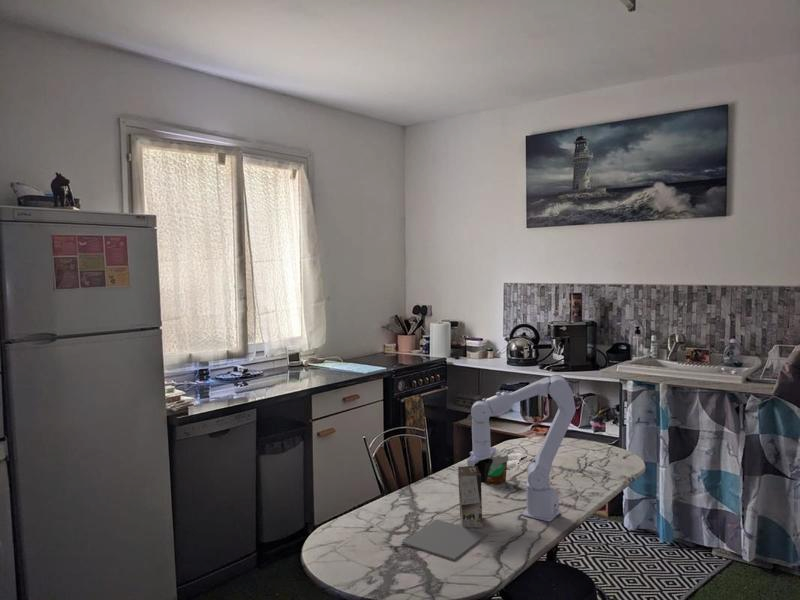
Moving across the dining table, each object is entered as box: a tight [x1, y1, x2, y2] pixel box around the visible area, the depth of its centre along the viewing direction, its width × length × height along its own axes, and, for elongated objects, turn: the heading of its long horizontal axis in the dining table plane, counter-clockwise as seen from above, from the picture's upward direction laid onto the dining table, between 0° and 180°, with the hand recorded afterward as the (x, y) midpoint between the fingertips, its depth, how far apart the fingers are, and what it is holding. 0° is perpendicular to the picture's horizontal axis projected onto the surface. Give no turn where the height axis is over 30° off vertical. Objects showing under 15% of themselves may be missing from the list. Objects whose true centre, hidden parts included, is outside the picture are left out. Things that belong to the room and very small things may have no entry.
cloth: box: [502, 452, 527, 470], centre depth 236 cm, size 26×14×2 cm, turn 135°
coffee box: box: [457, 465, 483, 529], centre depth 182 cm, size 9×6×16 cm
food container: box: [486, 454, 509, 486], centre depth 214 cm, size 12×6×10 cm, turn 62°
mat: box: [400, 519, 489, 562], centre depth 171 cm, size 18×18×1 cm
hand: (482, 482), depth 188 cm, fingers closed
